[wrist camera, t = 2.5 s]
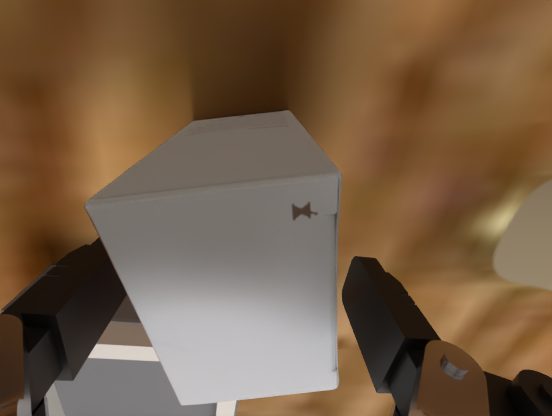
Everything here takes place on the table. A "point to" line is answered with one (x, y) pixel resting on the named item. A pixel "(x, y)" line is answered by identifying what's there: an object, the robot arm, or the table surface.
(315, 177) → the small box
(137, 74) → the table surface
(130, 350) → the grey square tray
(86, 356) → the robot arm
